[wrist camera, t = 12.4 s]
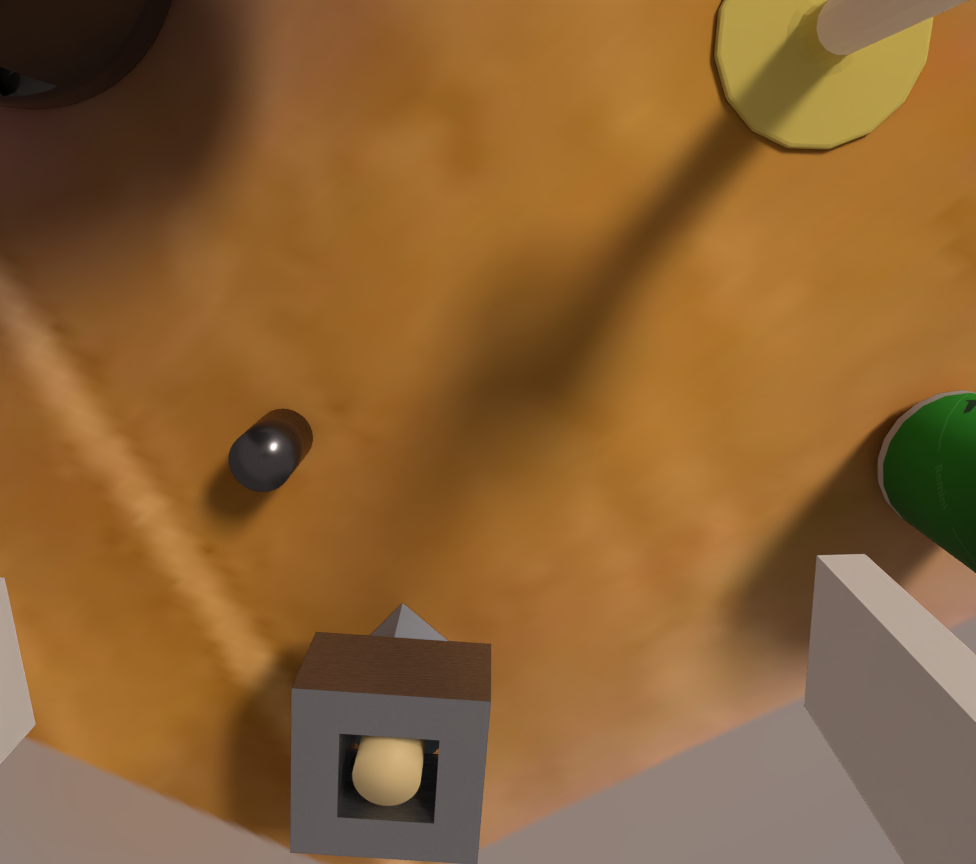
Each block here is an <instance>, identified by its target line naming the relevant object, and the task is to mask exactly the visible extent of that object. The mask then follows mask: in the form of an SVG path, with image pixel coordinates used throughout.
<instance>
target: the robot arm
mask: <svg viewBox="0 0 976 864" xmlns="http://www.w3.org/2000/svg"><path fill="white" fill-rule="evenodd" d="M170 3H171V0H0V105H3V106H8V107H14V108H22V109H48V108H56V107H62V106H66V105H71V104H74V103H77V102H81V101H83V100H86V99H88V98H91V97H93V96H95V95H97V94H99V93H101V92H103V91H104V90H106V89H108V88H109V87H111V86H112V85H114V84H115V83H117V82H118V81H119V80H121V79H122V78H123V77H124V76H125V75H126V74H127V73H129V72H130V71H131V70H132V69H133V68H134V67H135V66H136V64H137V63H138V62H139V61H140V60H141V59H142V57H143V56H144V55H145V54H146V52H147V51H148V49H149V48H150V46H151V45H152V43H153V42H154V40H155V38H156V36H157V35H158V33H159V31H160V29H161V27H162V24H163V22H164V20H165V17H166V15H167V12H168V9H169V6H170ZM804 706H805V708H806V709H807V711H808V712H809V714H810V716H811V717H812V719H813V720H814V721H815V723H816V725H817V726H818V728H819V730H820V731H821V733H822V734H823V736H824V738H825V739H826V741H827V742H828V744H829V746H830V747H831V749H832V750H833V752H834V753H835V755H836V757H837V758H838V759H839V761H840V763H841V764H842V766H843V768H844V769H845V770H846V772H847V774H848V775H849V777H850V779H851V780H852V782H853V783H854V785H855V786H856V788H857V790H858V791H859V793H860V794H861V796H862V798H863V799H864V801H865V802H866V804H867V805H868V807H869V809H870V810H871V812H872V813H873V815H874V816H875V818H876V820H877V821H878V823H879V824H880V826H881V827H882V829H883V831H884V832H885V834H886V835H887V837H888V838H889V840H890V842H891V843H892V845H893V846H894V848H895V850H896V851H897V853H898V854H899V856H900V857H901V859H902V860H903V862H904V864H976V655H975V654H974V653H973V652H972V651H971V650H970V649H969V648H968V647H967V646H966V645H964V644H963V643H962V642H961V641H960V640H959V639H958V638H957V637H956V636H955V635H953V634H952V633H951V632H950V631H949V630H948V629H947V628H946V627H945V626H944V625H942V624H941V623H940V622H939V621H938V620H937V619H936V618H935V617H934V616H933V615H931V614H930V613H929V612H928V611H927V610H926V609H925V608H924V607H923V606H922V605H920V604H919V603H918V602H917V601H916V600H915V599H914V598H913V597H912V596H911V595H910V594H908V593H907V592H906V591H905V590H904V589H903V588H902V587H901V586H900V585H899V584H897V583H896V582H895V581H894V580H893V579H892V578H891V577H890V576H889V575H888V574H886V573H885V572H884V571H883V570H882V569H881V568H880V567H879V566H878V565H877V564H875V563H874V562H873V561H872V560H871V559H870V558H869V557H868V556H867V555H866V554H846V555H817V559H816V571H815V583H814V595H813V607H812V619H811V631H810V643H809V655H808V667H807V679H806V691H805V704H804ZM35 725H36V724H35V720H34V715H33V710H32V706H31V701H30V696H29V691H28V687H27V682H26V677H25V673H24V668H23V663H22V659H21V654H20V649H19V644H18V640H17V635H16V630H15V626H14V621H13V616H12V611H11V607H10V602H9V597H8V593H7V588H6V583H5V578H0V764H1V763H2V761H3V760H4V759H5V758H6V757H7V756H8V755H9V754H10V753H11V751H12V750H13V749H14V748H15V747H16V746H17V745H18V744H19V743H20V741H21V740H22V739H23V738H24V737H25V736H26V735H27V734H28V733H29V731H30V730H31V729H32V728H33V727H34V726H35Z"/></svg>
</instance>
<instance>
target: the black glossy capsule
mask: <svg viewBox="0 0 976 864" xmlns="http://www.w3.org/2000/svg"><path fill="white" fill-rule="evenodd" d="M312 441H313V435H312V430H311V427H310V425H309V423H308V422H307V421H306V419H305V418H304V417H303V416H301V415H300V414H298V413H297V412H295V411H292V410H288V409H277V410H273V411H271V412H269V413H267V414H266V415H264V416H263V417H262V418H261V419H260V420H259V421H258V422H256V423H255V424H254V425H253V426H252V427H251V428H250V429H248V430H247V431H246V432H245V433H244V434H243V435H241V436H240V437H239V438H238V439H237V440H236V441H235V442H234V444H233V445H232V447H231V449H230V452H229V466H230V470H231V472H232V474H233V476H234V477H235V478H236V480H237V481H238V482H239V483H240V484H242V485H243V486H245V487H246V488H248V489H251V490H254V491H259V492H266V491H272V490H274V489H277V488H278V487H280V486H281V485H283V484H284V483H285V481H286V480H287V479H288V478H289V476H290V475H291V474H292V473H293V471H294V470H295V469H296V467H297V466H298V465H299V464H300V462H301V461H302V460H303V459H304V457H305V456H306V455H307V453H308V452H309V450H310V448H311V446H312Z"/></svg>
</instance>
